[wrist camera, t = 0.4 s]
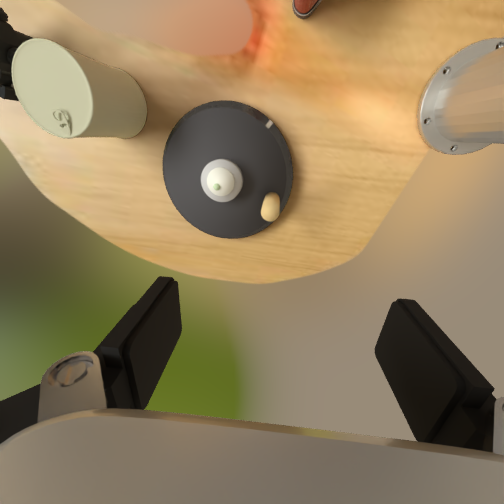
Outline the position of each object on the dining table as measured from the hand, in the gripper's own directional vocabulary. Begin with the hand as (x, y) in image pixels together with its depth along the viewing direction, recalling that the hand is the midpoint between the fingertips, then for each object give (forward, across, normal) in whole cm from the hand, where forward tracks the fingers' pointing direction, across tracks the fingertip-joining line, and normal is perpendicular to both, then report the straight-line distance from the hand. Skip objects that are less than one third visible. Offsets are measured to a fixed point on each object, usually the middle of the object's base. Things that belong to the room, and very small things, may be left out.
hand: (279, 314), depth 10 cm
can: (+32, +25, -11) cm, 42 cm away
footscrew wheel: (+30, +8, -1) cm, 31 cm away
